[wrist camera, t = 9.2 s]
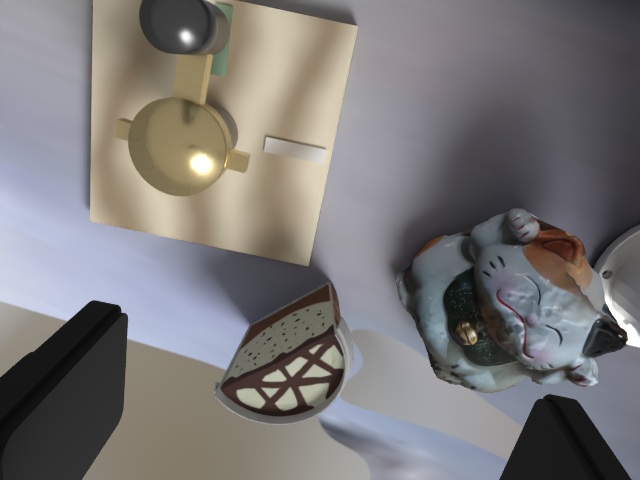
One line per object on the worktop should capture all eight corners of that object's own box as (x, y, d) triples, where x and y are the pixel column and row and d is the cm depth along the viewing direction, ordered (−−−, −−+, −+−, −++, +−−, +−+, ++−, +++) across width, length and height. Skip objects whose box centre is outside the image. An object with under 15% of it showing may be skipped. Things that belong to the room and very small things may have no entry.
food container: (272, 375, 47) (253, 451, 38) (237, 330, 45) (208, 399, 36) (377, 323, 44) (384, 392, 35) (343, 273, 42) (341, 331, 33)
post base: (358, 27, 35) (359, 18, 28) (309, 261, 42) (302, 296, 36) (101, -27, 35) (44, -50, 28) (96, 217, 42) (49, 244, 35)
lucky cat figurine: (378, 244, 41) (462, 234, 28) (489, 205, 44) (614, 178, 30) (430, 400, 41) (537, 466, 28) (536, 351, 44) (680, 389, 31)
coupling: (138, -19, 28) (86, -40, 23) (278, 22, 29) (261, 11, 23) (118, 170, 33) (70, 191, 27) (240, 204, 33) (217, 232, 27)
